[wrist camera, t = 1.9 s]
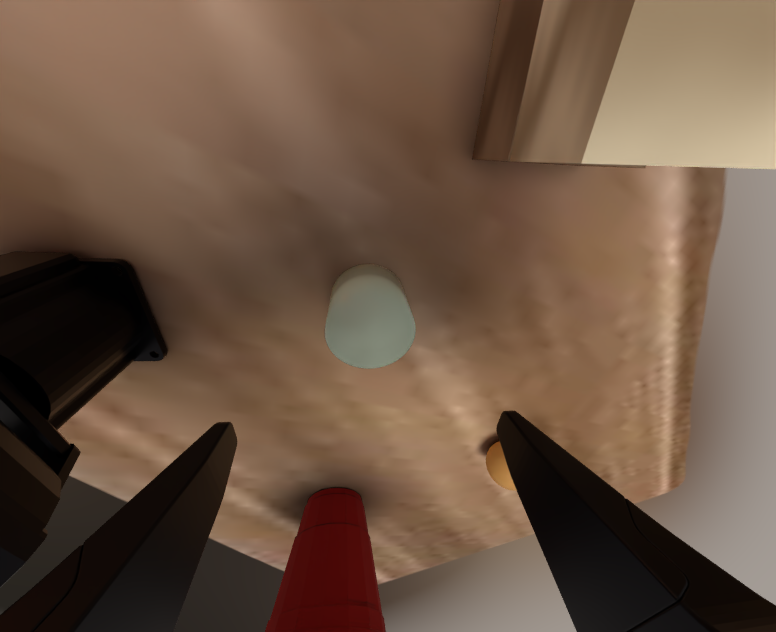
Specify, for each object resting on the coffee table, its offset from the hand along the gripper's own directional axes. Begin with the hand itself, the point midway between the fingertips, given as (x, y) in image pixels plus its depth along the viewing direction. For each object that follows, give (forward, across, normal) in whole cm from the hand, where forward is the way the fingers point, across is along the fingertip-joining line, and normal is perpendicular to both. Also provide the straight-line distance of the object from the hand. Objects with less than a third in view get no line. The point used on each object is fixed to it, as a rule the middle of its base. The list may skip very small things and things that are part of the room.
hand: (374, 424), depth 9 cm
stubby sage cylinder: (+10, 0, 0) cm, 10 cm away
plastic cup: (+10, +3, +24) cm, 26 cm away
